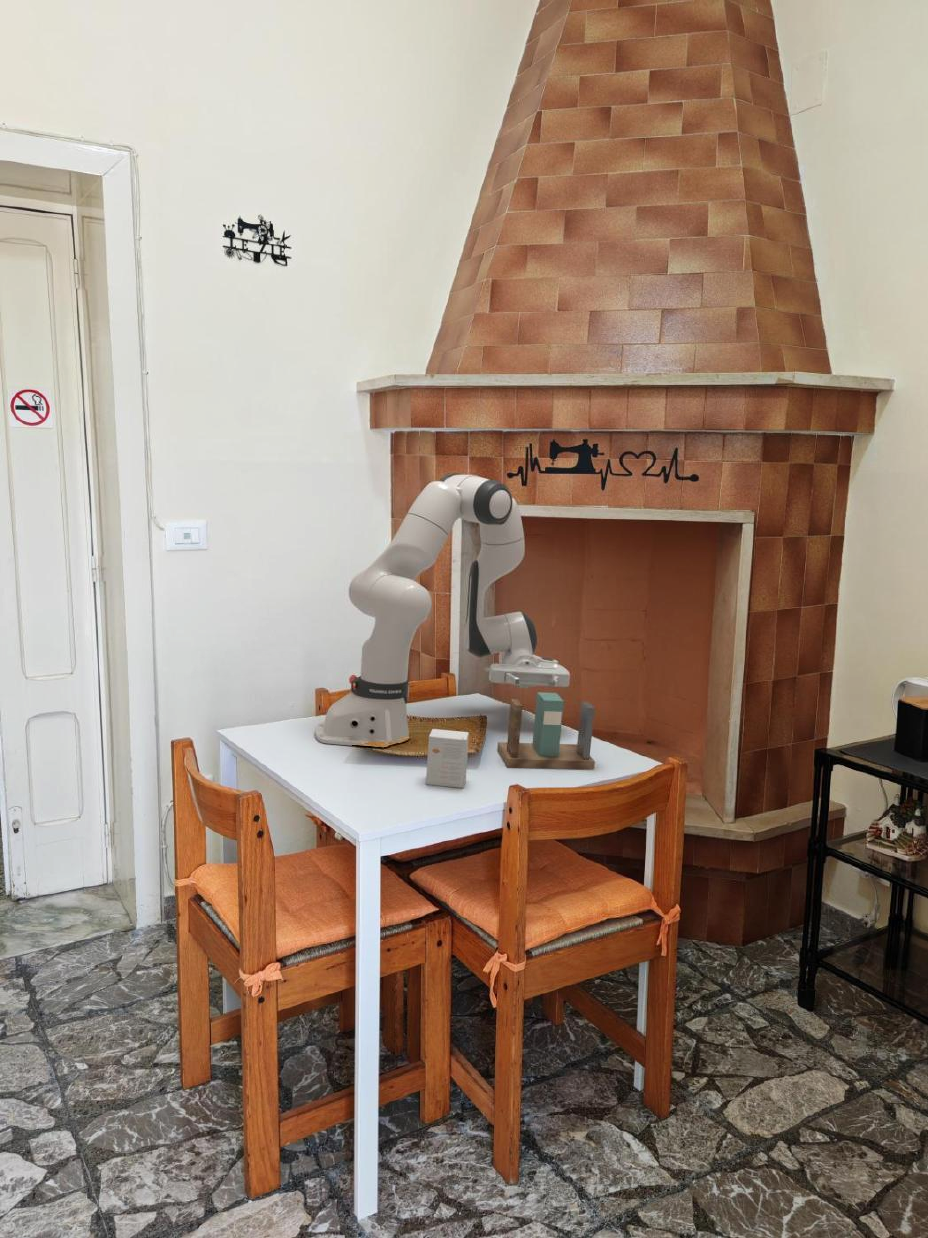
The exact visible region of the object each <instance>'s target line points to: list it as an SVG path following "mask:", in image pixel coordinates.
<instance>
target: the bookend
mask: <svg viewBox="0 0 928 1238" xmlns="http://www.w3.org/2000/svg"><path fill="white" fill-rule="evenodd" d="M580 705H581V706H580V714H579V721H578V723H579V724H578V732H577V733H578V734H577V742H576V743H577V751H576V752H577V753H578V754H579V755H580V757H581V758H582V759H583V760H589V758H590V756H591V747H592V746H591V745H592V740H593V739H592V737H593V730H594V729H593V727H594V720H595V718H594V717H595V707H594V706H593V705H592V704H591V703H590V702H589V701H581V703H580Z"/></svg>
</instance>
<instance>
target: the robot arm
mask: <svg viewBox="0 0 928 1238" xmlns="http://www.w3.org/2000/svg"><path fill="white" fill-rule="evenodd" d="M459 519H462V520H464V521H466V522H472V523H477V524H478V525H479V536H480V550H479V554H478V555H477V558H476V559H475V560H474V561H472V563H471V565H470V568H469V574H468V575H469V576H468V587H467V588H468V589H467V602H466V603H467V604H466V618H465V625H464V626H465V627H464V631H463V632H464V634H463V640H464V644H465V647H466V650H467V652H469V653H470V654H471V655H473V656H475V657H477V658H485V657H487V656H490V655H493V654H498V653H499V655H498V662H499V663H491V664H490V666H488V667H485V668H484V670H485V672H486V673H488V674H489V675H488V679H489V681H490V682H491V683H494V684H507V685H513V686H515V687H517V688H520V689H528V688H531V687H538V686H543V687H545V686H546V687H550V688H557V687H558V688H559V687H561V688H567V687H569V686H570V679H571V672H570V671H569V669H567V668H565V667H564V666H563V665H561V664H559V661H558V660H556V659H553V658H547V657H541V656H538V655H536V654H533V653H535V650H536V648H537V645H538V638H537V637H538V636H537V629H536V626H535V624H534V622H533V620H532V619H531V618H530V617H529V616H528V615H527V614H526V613H524V612H523V611H516V612H510V613H503V614H499V615H494V616H489V617H484V608H485V595H486V592H487V589H488V588H489V587H490V586H491V584H493V583H494V582H495V581H498V579H500V578H502V577H504V576H505V575H507V574H509V573H511V572H512V571H514V570H515V569H516V568H517V567H518V566H519V565H520V564H521V562H522V560H523V559H524V557H525V551H526V547H525V546H526V545H525V544H526V543H525V541H526V540H525V533H524V532H525V531H524V527H523V522H522V516H521V513H520V508H519V506H518V503H517V501H516V499H515V498H514V497H513V496H512V493H511V491H510V489H509V487H508V486H506V485H505V484H504V483H502V482H500V481H498V480H496V479H488V478H485V477H481V476H479V475H476V474H475V475H474V474H462V473H458V472H457V473H450V474H447V475H444V476H442V477H441V478H440V479H439V480H435V481H431V482H430V483H428V484H427V485H426V486H425V487H424V488H423V490H422V491H421V492H420V493H419V494H418V496H417V497H416V499H415V500H414V502H413V503H412V505H411V507H410V508H409V510H408V511H407V513H406V515H405V516H404V519H403V521H402V523H401V524H400V525H399V528H398V529H397V531H396V533H395V534H394V537H393V538H392V540H391V542H390V543H389V544H388V546H387V547H386V548H385V549H384V550H383V552H382V553H381V554H380V555H379V556H378V557H377V558H376V559H375V560H374V561H373V562H372V564H371V565H370V566H368V567H367V568H366V569H364V570H363V571H361V572H359V573H357V574H356V575H355V576H354V577H353V578H352V579H351V581H350V583H349V586H348V597H349V598H348V599H349V600H350V602H351V604H352V605H353V606H354V607H355V608H356V609H357V610H358V611H360V612H361V613H362V614H364V615H366V616H369V617H371V618H374V620H375V621H374V626H373V629H372V632H371V634H370V637H369V638H367V640H365V641H364V642H363V645H362V647H361V661H360V675H359V676H357V675H354V674H352V675H350V676H349V679H348V680H349V684H350V692H349V693H347V694H346V695H344V696H343V697H341V698H340V699H339V700H337V701H336V702H334V703H332V704H331V705H330V706H329V708H328V710H327V712H326V715H325V718H324V719H325V720H324V722H322V723H319V724H318V725H317V726H315V729H314V730H315V731H314V738H315V739H316V740H317V741H318V742H320V743H323V744H327V745H328V744H329V745H339V746H340V745H342V746H352V744H353V745H354V744H361V743H368V742H375V741H380V742H387V743H388V742H393V741H398V740H400V739H402V738H404V737H406V736H407V735H408V734H410V729H409V724H408V715H407V714H408V712H407V711H408V710H407V704H408V700H409V695H410V684H409V683H410V681H409V679H408V673H409V671H408V670H409V660H410V650H411V645H412V643H413V640H414V637H415V634H416V632H417V629H418V628H419V626H420V625H422V624H423V623H424V622H425V621H426V620H427V619H428V617H429V616H430V613H431V611H432V604H433V603H432V597H431V594H430V592H429V590H428V589H427V588H426V587H424V586H422V585H421V583H419V582H417V581H415V579H416V578H417V577H418V576H419V575H420V574H421V573H422V572H424V571H426V570H428V569H430V568H431V567H432V566H433V565H434V564H435V562H436V561H437V558H438V556H439V555H440V553H441V552H442V549H443V547H444V545H445V543H446V541H447V540H448V538H449V535H450V533H451V532H452V529H453V527H454V525H455V522H457V520H459ZM387 743H385V744H387Z"/></svg>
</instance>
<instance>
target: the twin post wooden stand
mask: <svg viewBox="0 0 928 1238" xmlns="http://www.w3.org/2000/svg"><path fill="white" fill-rule="evenodd" d="M523 707H524V706H523V704H522V703H521V702H520V700H519V699H518V698H511V699H510V710H509V718H508V730H507V731H508V732H507V740H506V742H503V741H499V742H497V749H496V750H497V752H498V754H499V757H501V759H502V761H503V763H504V765H505V766H506V768H507V769H508V768H509V769H510V768H512V769H513V768H514V769H517V768H518V769H548V770H549V769H550V770H551V769H552V770H584V769H594V770H595V764H596V761H595V759H593V757H592V756H591V755H590V758H589V760H583V759H582V758H581V757H580V755H579V754H578V753H577V752H576V751H577V744H575V743H574V744H573V743H570V744H569V743H560V745H559V755H558V757H552V756H539V755H538V754H537V753H536V751H535V750H534V748H533V747H532V743H533V742H520V740H521V739H520V738H521V727H522V717H523Z"/></svg>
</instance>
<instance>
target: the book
mask: <svg viewBox="0 0 928 1238" xmlns="http://www.w3.org/2000/svg"><path fill="white" fill-rule="evenodd" d="M535 701H536V703H535V712H534V724H533V736H532V742H531V743H532V747H533V748H534V750H535V751H536V753H537V754H538V755H539V756H552V757H558V755H559V745H560V744H561V733H562V722H563V715H564V713H563V712H564V704H565V702H564V699H562V697H561V696H560V695H559V694H558V693H557V692H541V691H540V692H537V693H536V700H535Z"/></svg>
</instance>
